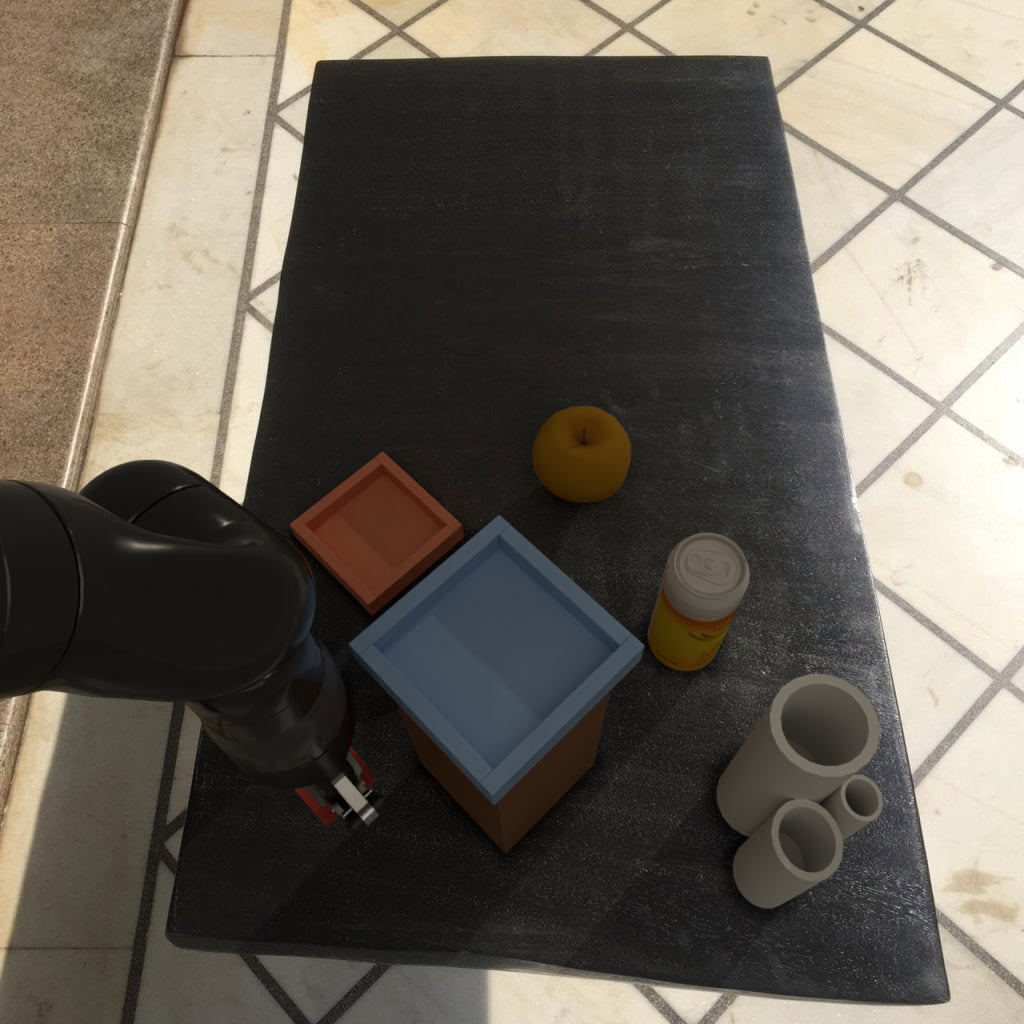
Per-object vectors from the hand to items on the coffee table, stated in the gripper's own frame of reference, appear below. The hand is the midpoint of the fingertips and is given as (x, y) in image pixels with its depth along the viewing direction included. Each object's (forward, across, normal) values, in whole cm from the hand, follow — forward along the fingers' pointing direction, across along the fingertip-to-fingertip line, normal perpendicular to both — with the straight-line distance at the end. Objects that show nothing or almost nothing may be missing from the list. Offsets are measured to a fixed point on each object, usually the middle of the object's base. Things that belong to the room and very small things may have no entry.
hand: (330, 779), depth 69 cm
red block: (0, 0, 0) cm, 0 cm away
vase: (+9, +24, +22) cm, 34 cm away
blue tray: (+9, +6, +11) cm, 16 cm away
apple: (+9, -8, +34) cm, 36 cm away
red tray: (+9, -17, +18) cm, 26 cm away
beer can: (+9, +9, +29) cm, 32 cm away
